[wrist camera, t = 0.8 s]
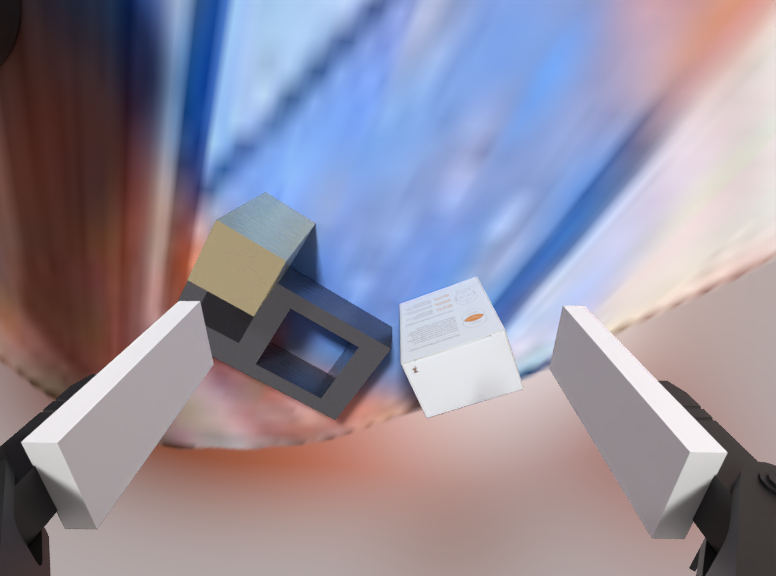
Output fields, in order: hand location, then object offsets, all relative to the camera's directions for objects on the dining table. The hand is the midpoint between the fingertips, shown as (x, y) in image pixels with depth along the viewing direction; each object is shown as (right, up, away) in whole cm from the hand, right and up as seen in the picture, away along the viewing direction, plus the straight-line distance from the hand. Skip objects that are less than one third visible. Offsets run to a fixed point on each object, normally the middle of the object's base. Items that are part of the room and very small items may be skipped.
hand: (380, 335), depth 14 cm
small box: (+6, -1, +24) cm, 25 cm away
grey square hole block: (-10, -1, +25) cm, 26 cm away
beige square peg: (-10, +7, +21) cm, 24 cm away
